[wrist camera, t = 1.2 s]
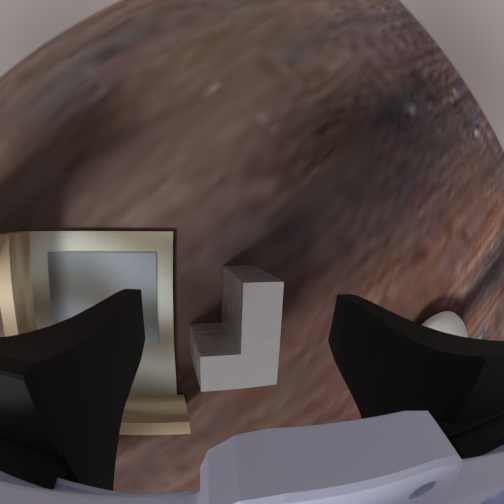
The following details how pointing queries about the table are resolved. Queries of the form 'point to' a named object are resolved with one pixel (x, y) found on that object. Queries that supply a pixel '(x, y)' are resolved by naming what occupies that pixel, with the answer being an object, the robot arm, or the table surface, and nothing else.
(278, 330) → the bracket
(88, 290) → the arena
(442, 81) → the table surface
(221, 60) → the table surface
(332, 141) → the table surface
